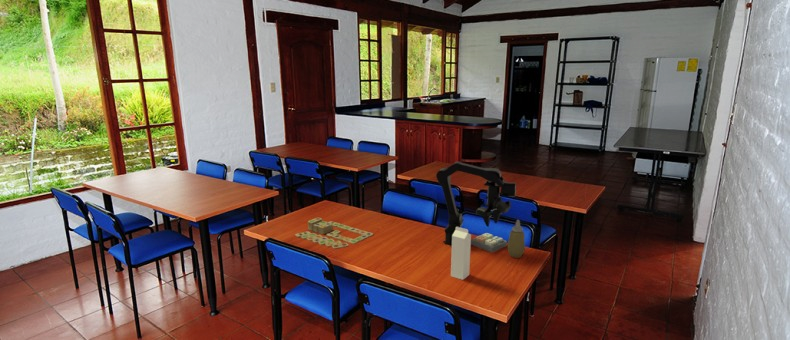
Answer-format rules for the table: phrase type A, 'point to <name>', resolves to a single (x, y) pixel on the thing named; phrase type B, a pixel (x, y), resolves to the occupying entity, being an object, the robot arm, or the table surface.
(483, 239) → the tile terracotta
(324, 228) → the pile of dominoes
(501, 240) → the tile bluegrey
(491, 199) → the robot arm
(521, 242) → the squeeze bottle
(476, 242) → the bezel board
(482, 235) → the tile sage
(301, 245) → the table surface
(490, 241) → the tile cream
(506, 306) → the table surface
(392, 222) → the table surface
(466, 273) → the milk
